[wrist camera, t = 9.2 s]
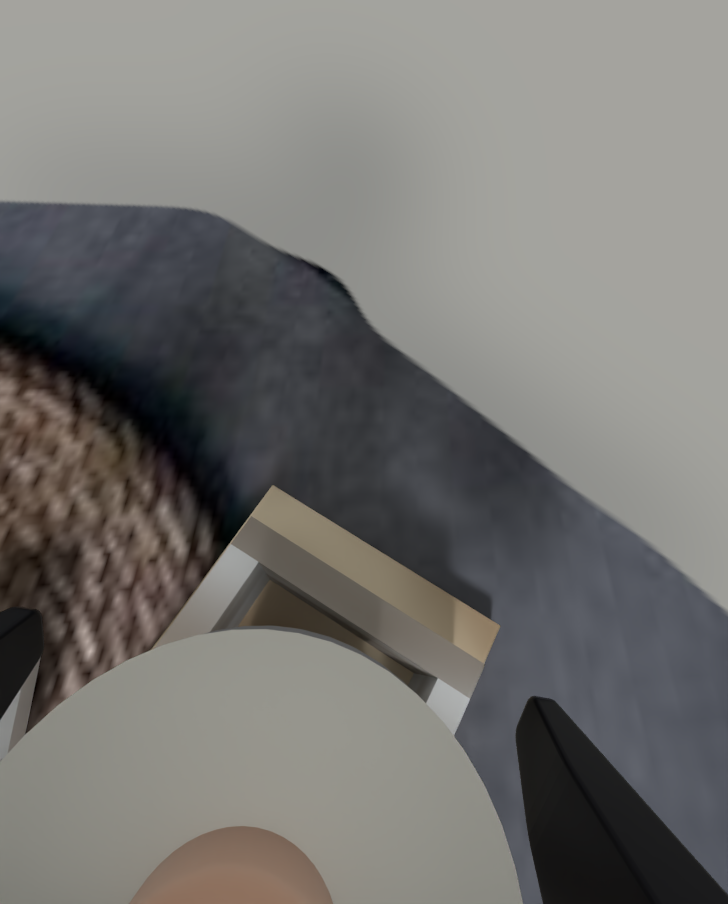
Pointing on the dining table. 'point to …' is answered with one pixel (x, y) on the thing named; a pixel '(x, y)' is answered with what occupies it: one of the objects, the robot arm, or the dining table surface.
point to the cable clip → (17, 715)
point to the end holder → (341, 602)
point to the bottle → (248, 785)
